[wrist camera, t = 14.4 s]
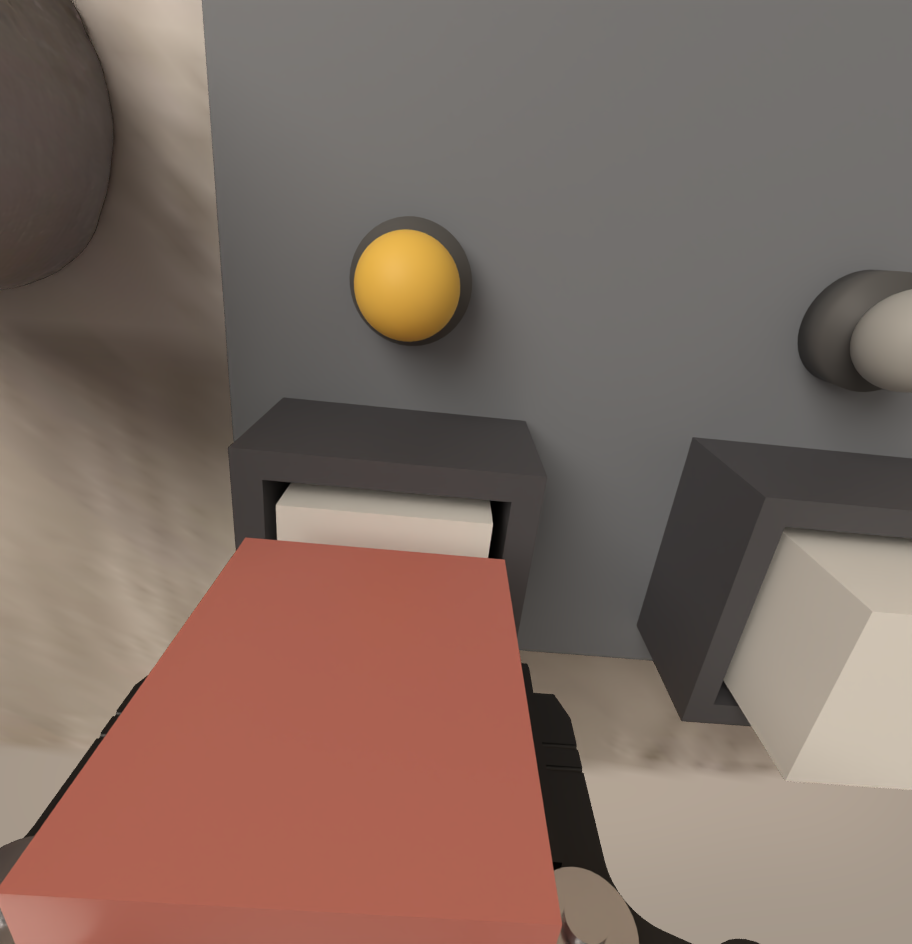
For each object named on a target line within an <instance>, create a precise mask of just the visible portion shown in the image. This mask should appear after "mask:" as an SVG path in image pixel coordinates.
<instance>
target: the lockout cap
mask: <svg viewBox="0 0 912 944" xmlns="http://www.w3.org/2000/svg"><path fill="white" fill-rule="evenodd" d="M0 909H1V911H2V913H3V916H4V918H5V921H6V923H7V925H8V928H9V930H10V933H11V935H12V937H13V940H14V942H15V944H556V943H557V940H558V937H559V934H560V931H561V928H562V920H561V914H560V908H559V901H558V895H557V888H556V882H555V876H554V869H553V863H552V857H551V850H550V844H549V838H548V831H547V825H546V819H545V812H544V806H543V799H542V793H541V787H540V780H539V774H538V768H537V761H536V755H535V749H534V742H533V736H532V730H531V723H530V717H529V710H528V704H527V698H526V691H525V685H524V679H523V672H522V666H521V660H520V653H519V647H518V641H517V634H516V628H515V621H514V615H513V609H512V602H511V596H510V590H509V583H508V577H507V571H506V564H505V560H503V559H492V558H480V557H468V556H457V555H445V554H433V553H421V552H410V551H398V550H386V549H374V548H363V547H351V546H339V545H327V544H316V543H304V542H292V541H281V540H269V539H257V538H245V539H244V540H243V542H242V543H241V545H240V546H239V547H238V549H237V550H236V552H235V553H234V555H233V556H232V557H231V559H230V560H229V562H228V563H227V564H226V566H225V567H224V569H223V570H222V572H221V573H220V574H219V576H218V577H217V579H216V580H215V581H214V583H213V584H212V586H211V587H210V589H209V590H208V591H207V593H206V594H205V596H204V597H203V598H202V600H201V601H200V603H199V604H198V606H197V607H196V608H195V610H194V611H193V613H192V614H191V615H190V617H189V618H188V620H187V621H186V622H185V624H184V625H183V627H182V628H181V630H180V631H179V632H178V634H177V635H176V637H175V638H174V639H173V641H172V642H171V644H170V645H169V647H168V648H167V649H166V651H165V652H164V654H163V655H162V656H161V658H160V659H159V661H158V662H157V664H156V665H155V666H154V668H153V669H152V671H151V672H150V673H149V675H148V676H147V678H146V679H145V681H144V682H143V683H142V685H141V686H140V688H139V689H138V690H137V692H136V693H135V695H134V696H133V698H132V699H131V700H130V702H129V703H128V705H127V706H126V707H125V709H124V710H123V712H122V713H121V715H120V716H119V717H118V719H117V720H116V722H115V723H114V724H113V726H112V727H111V729H110V730H109V732H108V733H107V734H106V736H105V737H104V739H103V740H102V741H101V743H100V744H99V746H98V747H97V749H96V750H95V751H94V753H93V754H92V756H91V757H90V758H89V760H88V761H87V763H86V764H85V766H84V767H83V768H82V770H81V771H80V773H79V774H78V775H77V777H76V778H75V780H74V781H73V783H72V784H71V785H70V787H69V788H68V790H67V791H66V792H65V794H64V795H63V797H62V798H61V799H60V801H59V802H58V804H57V805H56V807H55V808H54V809H53V811H52V812H51V814H50V815H49V816H48V818H47V819H46V821H45V822H44V824H43V825H42V826H41V828H40V829H39V831H38V832H37V833H36V835H35V836H34V838H33V839H32V841H31V842H30V843H29V845H28V846H27V848H26V849H25V850H24V852H23V853H22V855H21V856H20V858H19V859H18V860H17V862H16V863H15V865H14V866H13V867H12V869H11V870H10V872H9V873H8V875H7V876H6V877H5V879H4V880H3V882H2V883H1V884H0Z"/></svg>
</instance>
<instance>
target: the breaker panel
mask: <svg viewBox="0 0 912 944" xmlns="http://www.w3.org/2000/svg"><path fill="white" fill-rule="evenodd" d="M202 9H203V23H204V37H205V51H206V65H207V79H208V92H209V106H210V120H211V134H212V148H213V162H214V176H215V190H216V203H217V217H218V231H219V245H220V259H221V273H222V287H223V301H224V315H225V328H226V342H227V356H228V370H229V384H230V398H231V412H232V426H233V439H234V443H232V444H231V445H230V446H229V447H228V454H229V467H230V480H231V493H232V506H233V519H234V532H235V545H236V550H237V549H238V547H239V546H240V545H241V543H242V542H243V540H244V539H245V538H257V539H269V540H277V524H276V504H277V502H278V501H279V500H280V498H281V497H282V495H283V494H284V492H285V491H286V489H287V488H288V486H289V485H290V483H291V482H292V483H303V484H315V485H326V486H337V487H348V488H359V489H370V490H381V491H392V492H403V493H414V494H425V495H436V496H447V497H459V498H470V499H481V500H490V506H491V513H492V521H493V527H492V534H491V541H490V548H489V555H488V558H492V559H503V560H505V564H506V571H507V577H508V583H509V590H510V596H511V602H512V609H513V615H514V621H515V628H516V634H517V641H518V647H519V650H524V651H537V652H549V653H562V654H575V655H588V656H600V657H613V658H626V659H639V660H651V661H653V662H654V664H655V666H656V668H657V670H658V672H659V674H660V676H661V678H662V681H663V683H664V685H665V687H666V689H667V691H668V693H669V695H670V698H671V700H672V702H673V704H674V706H675V708H676V710H677V712H678V714H679V717H680V719H681V721H686V722H700V723H714V724H727V725H741V726H751V725H750V723H749V721H748V720H747V718H746V717H745V715H744V713H743V712H742V710H741V708H740V707H739V705H738V703H737V702H736V700H735V699H734V697H733V695H732V694H731V692H730V690H729V689H728V687H727V685H726V684H725V682H724V681H723V680H724V677H725V675H726V672H727V670H728V667H729V665H730V662H731V660H732V657H733V655H734V652H735V650H736V647H737V645H738V642H739V640H740V637H741V635H742V633H743V630H744V628H745V625H746V623H747V620H748V618H749V615H750V613H751V610H752V608H753V605H754V603H755V600H756V598H757V595H758V593H759V590H760V588H761V585H762V583H763V580H764V578H765V575H766V573H767V570H768V568H769V565H770V563H771V560H772V558H773V555H774V553H775V551H776V548H777V546H778V543H779V541H780V538H781V536H782V533H783V531H784V528H785V527H791V528H802V529H813V530H824V531H835V532H846V533H857V534H868V535H879V536H891V537H902V538H912V0H202Z"/></svg>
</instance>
